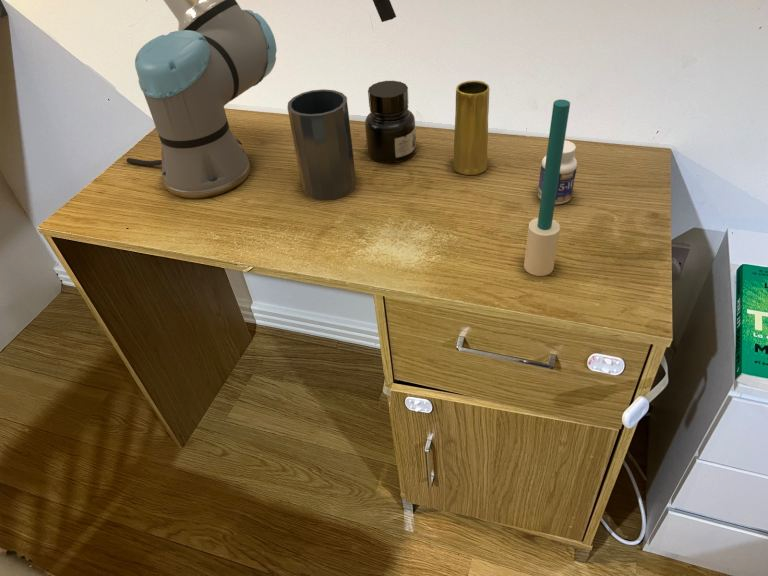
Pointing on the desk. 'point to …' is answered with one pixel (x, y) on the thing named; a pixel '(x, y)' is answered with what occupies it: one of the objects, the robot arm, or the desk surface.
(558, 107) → the brush
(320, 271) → the desk surface
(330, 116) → the grey pvc pipe
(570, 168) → the pill bottle
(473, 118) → the vase
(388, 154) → the ink bottle
